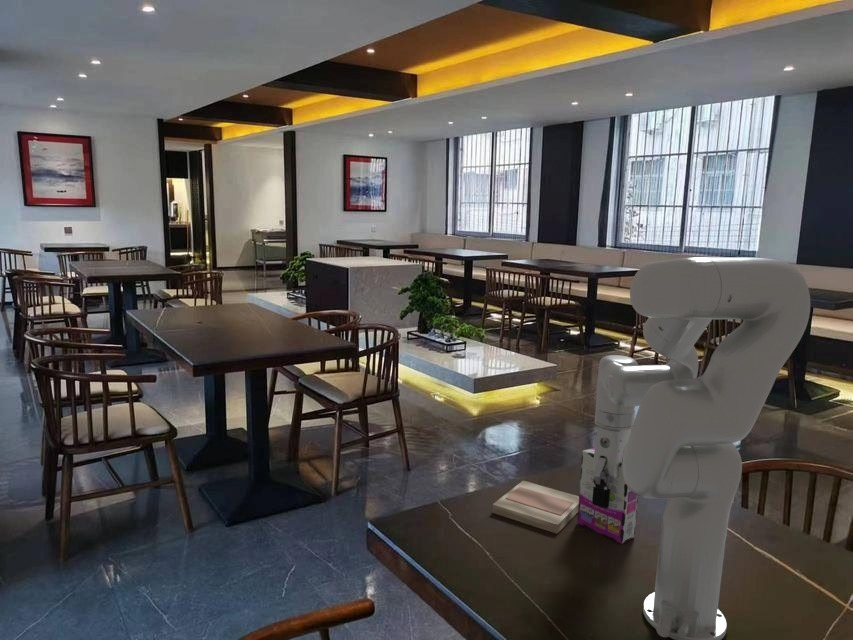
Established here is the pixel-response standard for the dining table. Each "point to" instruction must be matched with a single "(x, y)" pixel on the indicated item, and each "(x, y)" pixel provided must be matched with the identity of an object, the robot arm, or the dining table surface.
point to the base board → (538, 506)
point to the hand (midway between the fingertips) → (607, 497)
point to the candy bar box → (622, 504)
